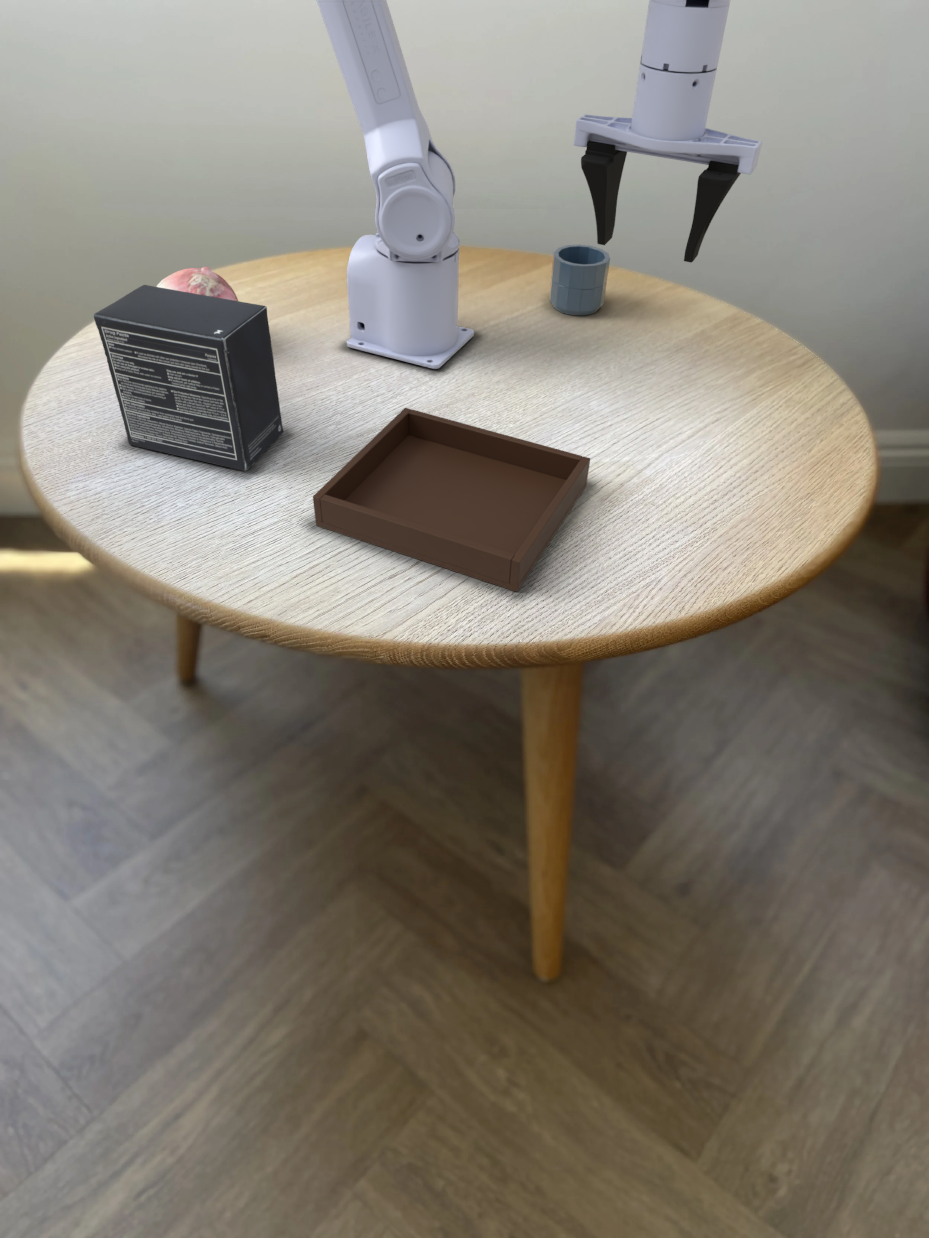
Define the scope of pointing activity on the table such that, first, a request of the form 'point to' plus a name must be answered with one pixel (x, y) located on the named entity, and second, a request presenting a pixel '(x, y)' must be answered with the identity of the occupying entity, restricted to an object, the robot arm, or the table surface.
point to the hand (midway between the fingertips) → (647, 249)
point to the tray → (454, 496)
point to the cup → (578, 279)
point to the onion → (199, 283)
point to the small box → (193, 374)
